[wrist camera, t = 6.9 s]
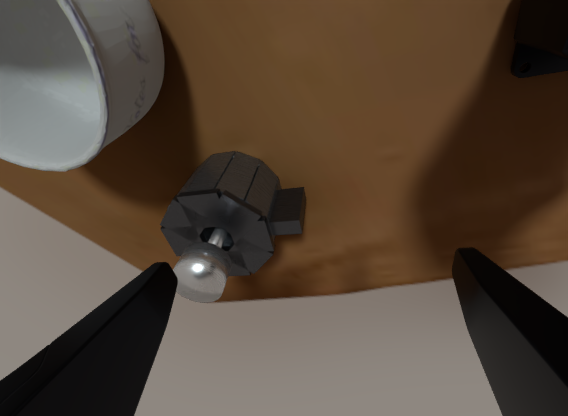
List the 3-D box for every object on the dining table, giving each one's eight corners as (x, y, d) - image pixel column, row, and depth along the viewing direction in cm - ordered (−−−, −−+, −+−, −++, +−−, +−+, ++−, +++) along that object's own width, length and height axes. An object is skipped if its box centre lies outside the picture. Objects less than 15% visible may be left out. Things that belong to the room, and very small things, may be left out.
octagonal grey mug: (297, 142, 20) (288, 185, 16) (312, 221, 24) (308, 273, 20) (180, 158, 22) (143, 200, 18) (212, 229, 26) (189, 277, 22)
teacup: (204, 116, 20) (144, 176, 13) (66, 121, 21) (-45, 176, 15) (118, -231, 11) (-146, -500, 5) (-97, -180, 13) (-497, -335, 7)
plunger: (254, 173, 20) (220, 255, 14) (269, 222, 23) (246, 310, 17) (195, 180, 21) (139, 259, 15) (216, 226, 24) (176, 310, 18)
